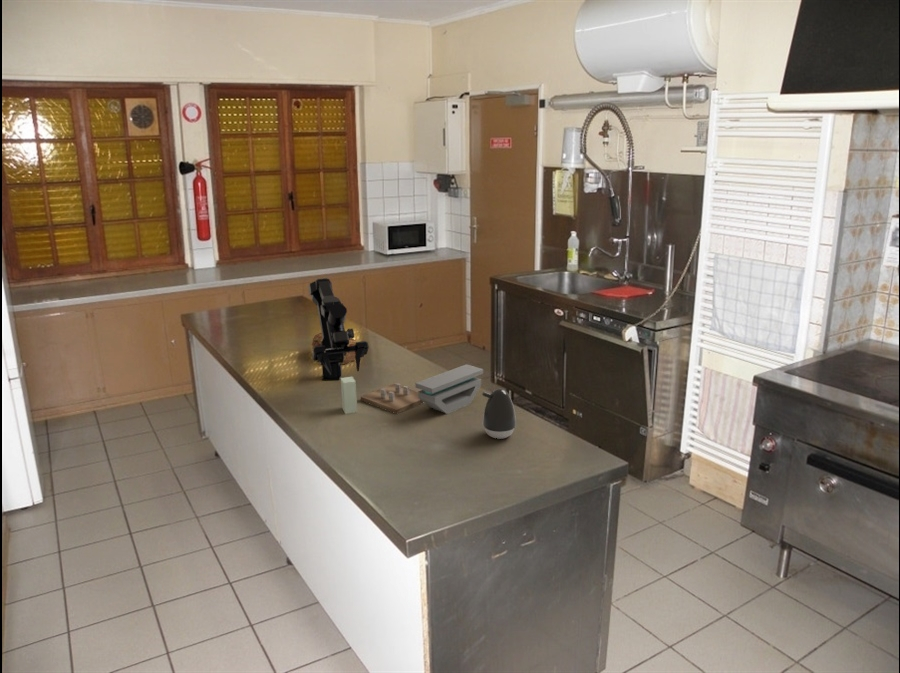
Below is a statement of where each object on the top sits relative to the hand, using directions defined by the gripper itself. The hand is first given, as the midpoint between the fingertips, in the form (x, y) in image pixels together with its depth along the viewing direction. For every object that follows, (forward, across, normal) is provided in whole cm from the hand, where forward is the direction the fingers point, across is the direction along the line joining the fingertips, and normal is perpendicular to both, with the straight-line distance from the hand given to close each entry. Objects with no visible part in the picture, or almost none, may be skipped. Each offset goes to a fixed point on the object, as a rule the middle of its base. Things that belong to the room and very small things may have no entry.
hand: (344, 372), depth 235 cm
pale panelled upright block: (+12, 0, +5) cm, 13 cm away
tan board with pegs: (+10, +17, +7) cm, 20 cm away
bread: (-27, +6, +44) cm, 52 cm away
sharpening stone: (+18, +33, -1) cm, 38 cm away
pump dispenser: (+37, +39, -20) cm, 58 cm away
